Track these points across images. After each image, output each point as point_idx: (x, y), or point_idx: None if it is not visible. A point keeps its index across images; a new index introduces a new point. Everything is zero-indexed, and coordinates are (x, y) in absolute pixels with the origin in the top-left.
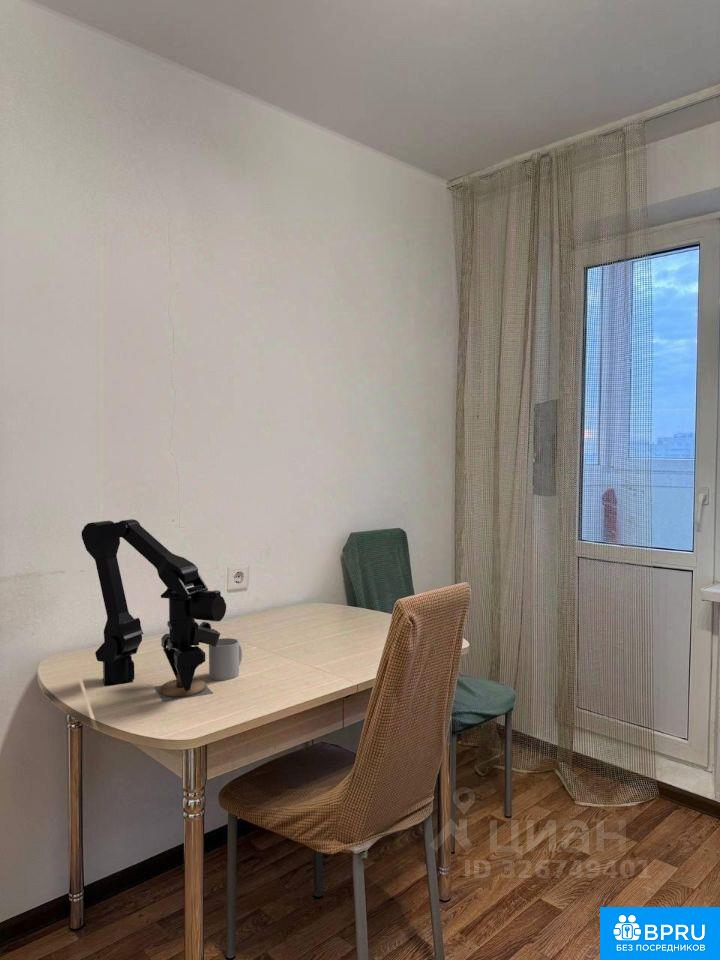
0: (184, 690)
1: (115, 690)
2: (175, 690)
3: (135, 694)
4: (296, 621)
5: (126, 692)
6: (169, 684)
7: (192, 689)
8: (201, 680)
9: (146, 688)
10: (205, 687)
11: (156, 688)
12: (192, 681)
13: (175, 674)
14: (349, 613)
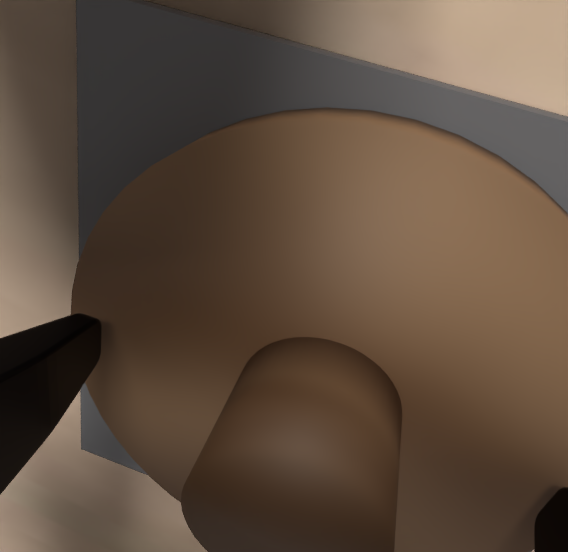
0: (491, 486)
1: (9, 540)
2: (405, 524)
3: (134, 536)
4: None
5: (70, 536)
6: (183, 451)
7: (554, 426)
8: (297, 129)
9: (50, 447)
10: (474, 137)
11: (134, 465)
12: (250, 254)
13: (58, 417)
14: None
